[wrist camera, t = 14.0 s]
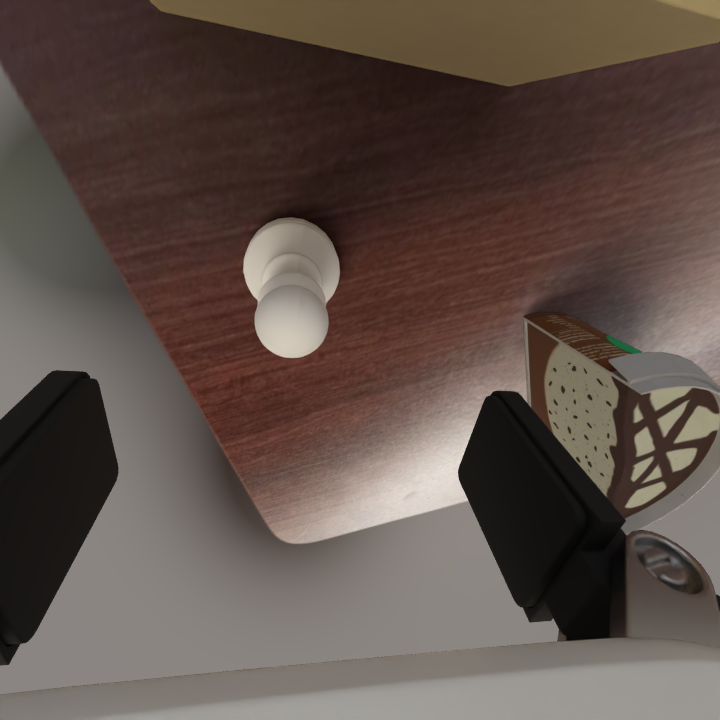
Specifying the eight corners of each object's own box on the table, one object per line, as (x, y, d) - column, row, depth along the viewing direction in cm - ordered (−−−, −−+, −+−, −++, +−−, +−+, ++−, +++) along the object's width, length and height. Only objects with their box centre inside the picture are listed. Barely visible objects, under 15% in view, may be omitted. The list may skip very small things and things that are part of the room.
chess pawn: (324, 313, 23) (339, 404, 15) (239, 293, 22) (209, 382, 14) (348, 232, 21) (380, 290, 13) (255, 203, 19) (230, 250, 12)
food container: (601, 407, 31) (718, 511, 22) (529, 430, 31) (618, 543, 22) (613, 266, 24) (785, 337, 16) (521, 296, 24) (643, 383, 16)
